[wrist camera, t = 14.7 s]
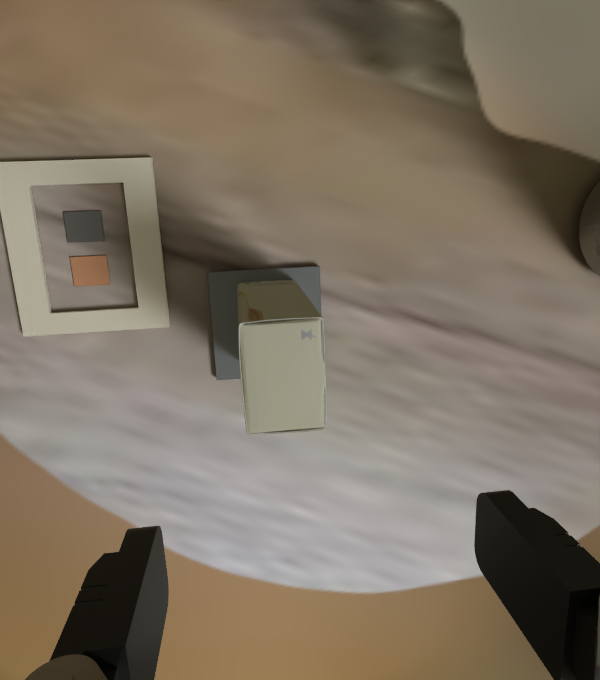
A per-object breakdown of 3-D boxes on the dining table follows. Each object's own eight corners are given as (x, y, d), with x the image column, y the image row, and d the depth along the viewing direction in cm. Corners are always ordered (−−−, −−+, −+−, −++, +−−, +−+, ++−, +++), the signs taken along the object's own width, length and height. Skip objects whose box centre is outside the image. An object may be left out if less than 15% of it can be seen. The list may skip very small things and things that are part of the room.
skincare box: (236, 282, 36) (235, 315, 24) (296, 278, 36) (325, 309, 24) (242, 368, 37) (244, 439, 26) (300, 363, 38) (328, 431, 26)
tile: (318, 265, 37) (319, 266, 36) (321, 370, 39) (323, 372, 38) (207, 271, 36) (207, 272, 35) (216, 378, 38) (216, 380, 37)
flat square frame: (152, 157, 34) (151, 157, 33) (170, 325, 36) (169, 327, 36) (-6, 162, 33) (-9, 162, 32) (25, 335, 35) (23, 336, 35)
